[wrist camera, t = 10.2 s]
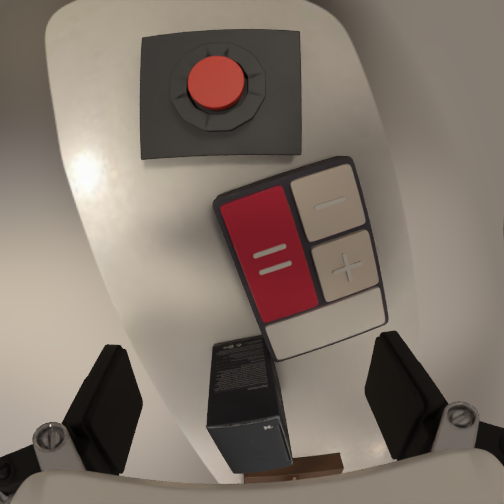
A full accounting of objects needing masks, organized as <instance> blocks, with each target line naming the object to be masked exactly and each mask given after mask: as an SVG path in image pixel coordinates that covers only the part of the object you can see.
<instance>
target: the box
mask: <svg viewBox="0 0 504 504" xmlns="http://www.w3.org/2000/svg"><path fill="white" fill-rule="evenodd" d="M206 428H207V430H208V432H209V434H210V435H211V437H212V439H213V440H214V442H215V444H216V446H217V447H218V449H219V451H220V452H221V454H222V456H223V457H224V459H225V461H226V462H227V464H228V465H229V467H230V469H231V470H232V472H233V473H234V474H243V473H256V472H263V471H269V470H274V469H279V468H284V467H288V466H291V465H292V464H293V457H292V452H291V446H290V440H289V434H288V429H287V423H286V418H285V412H284V406H283V401H282V395H281V388H280V384H279V381H278V377H277V372H276V368H275V364H274V361H273V360H272V357H271V355H270V353H269V350H268V348H267V345H266V343H265V340H264V338H263V336H260V337H253V338H247V339H242V340H238V341H233V342H228V343H223V344H218V345H214V347H213V350H212V361H211V373H210V385H209V399H208V412H207V426H206Z"/></svg>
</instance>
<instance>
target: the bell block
mask: <svg viewBox="0 0 504 504" xmlns="http://www.w3.org/2000/svg"><path fill="white" fill-rule="evenodd" d="M211 56H224V57H227V58H230V59H232V60H233V61H235V62H236V63H237V64H238V65H239V66H240V68H241V69H242V71H243V74H244V90H243V94H242V96H241V98H240V99H239V100H238V101H237V103H235V104H234V105H233V106H231V107H229V108H227V109H224V110H218V111H216V110H209V109H206V108H204V107H202V106H201V105H199V104H198V103H197V102H196V101H195V100H194V99H193V98H192V96H191V95H190V93H189V90H188V76H189V73H190V71H191V70H192V68H193V67H194V66H195V65H196V64H197V63H198V62H199V61H201V60H203V59H205V58H207V57H211ZM301 134H302V115H301V53H300V32H299V31H289V30H267V29H229V30H207V31H193V32H182V33H173V34H164V35H157V36H150V37H144V38H142V46H141V68H140V145H141V160H146V159H158V158H173V157H191V156H215V155H301Z"/></svg>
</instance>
